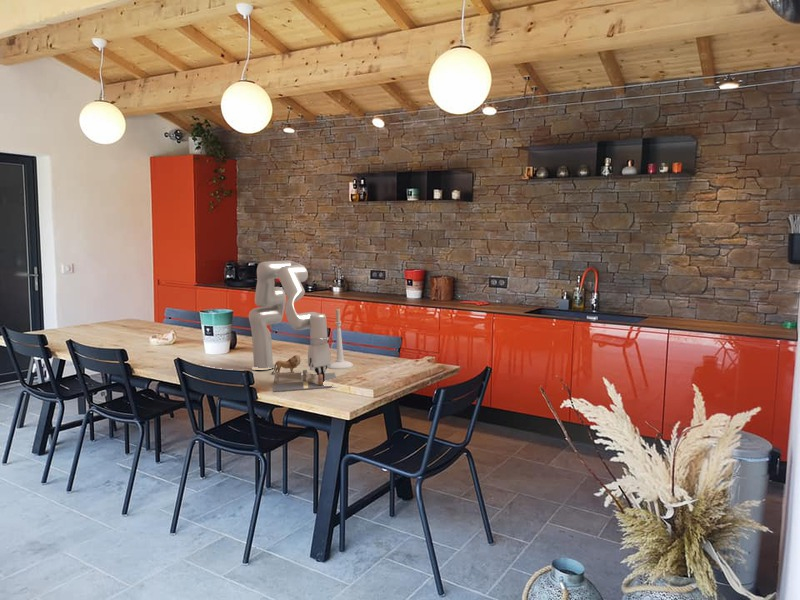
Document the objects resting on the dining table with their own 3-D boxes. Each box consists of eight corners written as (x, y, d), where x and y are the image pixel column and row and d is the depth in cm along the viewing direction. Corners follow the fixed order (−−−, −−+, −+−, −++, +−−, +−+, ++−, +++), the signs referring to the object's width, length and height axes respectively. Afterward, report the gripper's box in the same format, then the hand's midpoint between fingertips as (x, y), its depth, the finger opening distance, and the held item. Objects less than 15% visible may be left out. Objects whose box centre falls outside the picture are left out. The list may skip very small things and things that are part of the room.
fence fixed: (275, 382, 265) (274, 372, 265) (307, 380, 268) (307, 369, 267) (274, 383, 264) (274, 373, 263) (307, 381, 266) (307, 370, 265)
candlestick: (322, 367, 296) (319, 309, 292) (339, 362, 306) (336, 306, 303) (342, 370, 288) (339, 310, 285) (358, 365, 299) (355, 307, 296)
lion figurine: (301, 371, 288) (300, 353, 287) (300, 374, 283) (299, 356, 282) (271, 373, 287) (270, 355, 286) (270, 376, 282) (269, 357, 281)
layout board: (275, 378, 276) (275, 377, 276) (334, 373, 281) (334, 372, 281) (273, 392, 251) (273, 390, 251) (338, 387, 255) (338, 385, 255)
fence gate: (305, 381, 265) (304, 371, 265) (309, 380, 266) (308, 370, 266) (320, 385, 256) (319, 375, 255) (324, 384, 257) (323, 374, 257)
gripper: (327, 338, 268) (329, 377, 270) (300, 343, 258) (302, 383, 260) (337, 339, 263) (339, 379, 265) (310, 344, 252) (312, 386, 254)
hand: (321, 381), depth 262 cm, fingers closed
